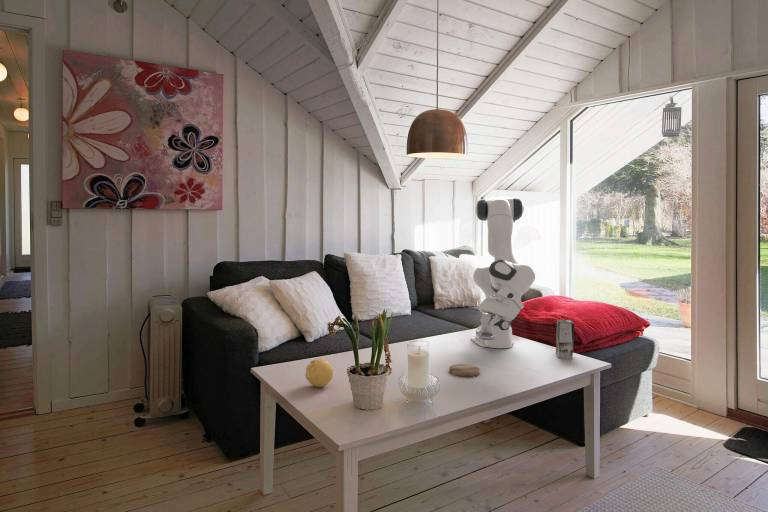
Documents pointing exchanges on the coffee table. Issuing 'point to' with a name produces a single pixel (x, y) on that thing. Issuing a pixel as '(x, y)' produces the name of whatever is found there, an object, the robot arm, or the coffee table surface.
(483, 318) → the knob
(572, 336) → the coffee box
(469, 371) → the base disc
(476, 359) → the coffee table surface
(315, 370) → the stress ball
